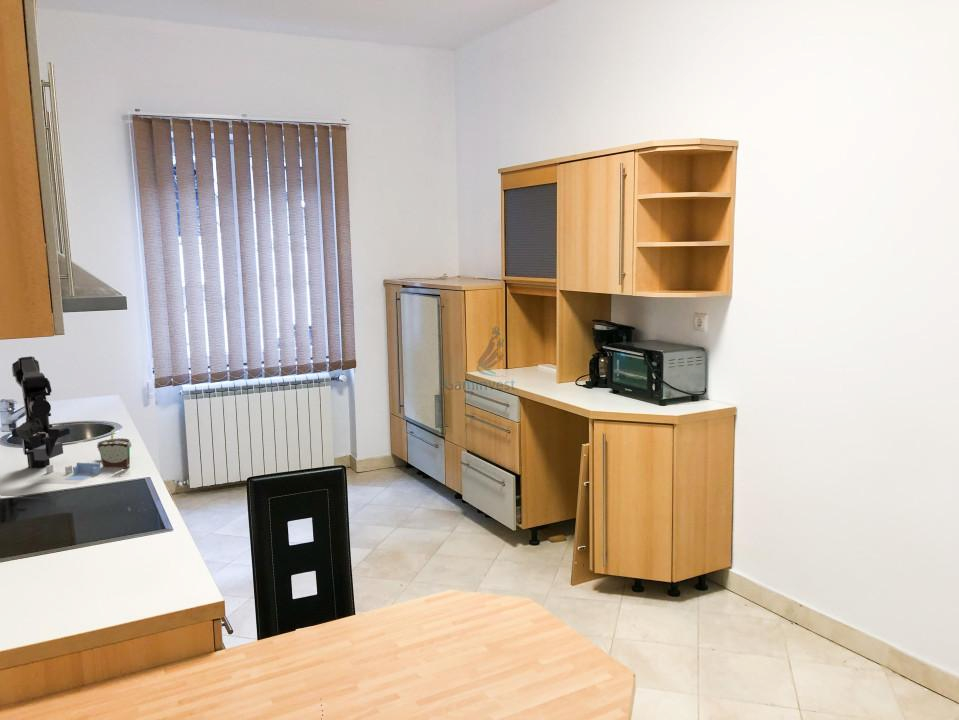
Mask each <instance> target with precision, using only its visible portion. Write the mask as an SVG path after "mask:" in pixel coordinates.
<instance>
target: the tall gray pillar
mask: <svg viewBox="0 0 959 720" xmlns="http://www.w3.org/2000/svg"><path fill="white" fill-rule="evenodd" d="M33 451H34V459H35V460H47V459H49V460H50V459H52V458H54V457H57V456H59V455H62V454H64V447H63V442H57V441H56V443H55V445H54V448H53V450H52V453H51V455H50V456H47V452H46V445H43V446H40V447H37V448H34V449H33Z"/></svg>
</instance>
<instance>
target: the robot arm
mask: <svg viewBox="0 0 959 720" xmlns="http://www.w3.org/2000/svg"><path fill="white" fill-rule="evenodd" d="M17 359H18V360H16V361H15V362H13V363H12V364H11V365H12V366H11V373H12V377H14V379H15V383H17V384H18V386H20V388H21V391H22V398H23V405H24V410H25V412H24V413H25V422H23V423H21V424H20V425H19V426H18V427H14V428H12V430H11V437H12V438H20V439H22V452H23V455H24V456H26V457H27V465H28V468H30V469H41V468H46V466H48V465H51V463H50V459H47V460H35V459H34V451H33V449H34V448H37V447H40V446H43V445H46V452H47V456H50V455H51V453H52V450H53V448H54V445H55V443H56V442H57V441H58V439H59V438H63V437H65V436H67V435H70V434H71V432H70V431H71V429H70V428H69V426H68V425H65V426H64V425H63V426H62V425H58V426H55V427H53V424H50V418H49V417H51V416H52V413H51V410H52V405H51V403H50V402H49V401H48V400H47V397H48V396H51V395H52V394H51V393H52V387H51V382H50V380H49V378H47V377H46V376H45V374H44V373H43V372H40V371H41V368H40V363H39V360H37V359H36V358H35V356H24V357H23V356H22V357H19V358H17ZM46 396H47V397H46Z"/></svg>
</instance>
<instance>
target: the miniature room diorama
mask: <svg viewBox="0 0 959 720" xmlns="http://www.w3.org/2000/svg"><path fill="white" fill-rule="evenodd" d="M45 469H46V471H45V472H46V473H44V474H42V475H41V474H40V476H35V477H33V478H31V479H30V480H27V481H26V483H40V484H65V485H66V484H67V485H77V484H79V483H82V482H84V481H86V480H88V479H90V478H93V477H95V476H97V475H100V474H101V473H102V470H101V463H99V462H97V463H96V462H76V466H75V465H74V466H72V465H67V466H65V467H64V469H65V471H54V465H53V464H50V465H48V466H46V467H45Z"/></svg>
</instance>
